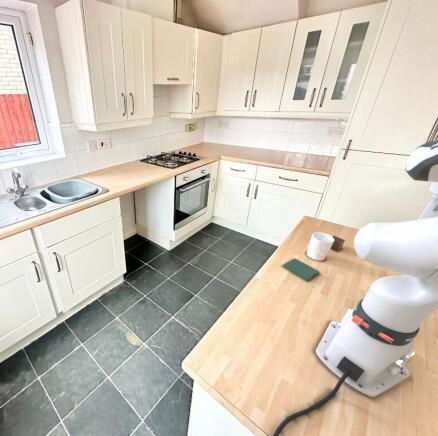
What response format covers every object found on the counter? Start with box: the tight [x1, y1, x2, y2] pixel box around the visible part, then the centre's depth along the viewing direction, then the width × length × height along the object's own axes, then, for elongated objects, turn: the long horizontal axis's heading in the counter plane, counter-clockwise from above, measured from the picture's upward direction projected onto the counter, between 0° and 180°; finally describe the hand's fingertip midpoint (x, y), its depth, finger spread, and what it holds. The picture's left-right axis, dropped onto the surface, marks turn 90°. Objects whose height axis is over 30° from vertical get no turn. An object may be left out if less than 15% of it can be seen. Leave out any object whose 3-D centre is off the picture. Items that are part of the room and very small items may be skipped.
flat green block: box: [282, 258, 320, 282], centre depth 99 cm, size 8×10×1 cm
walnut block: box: [330, 235, 346, 252], centre depth 111 cm, size 4×4×4 cm
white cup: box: [306, 231, 334, 262], centre depth 105 cm, size 8×8×10 cm
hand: (426, 229), depth 74 cm, fingers closed
